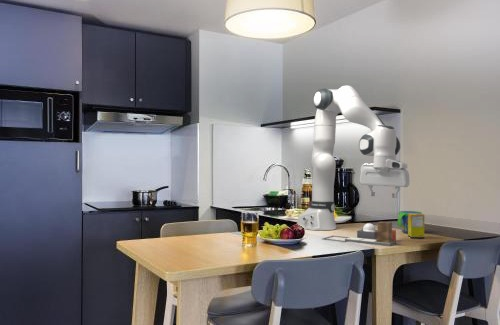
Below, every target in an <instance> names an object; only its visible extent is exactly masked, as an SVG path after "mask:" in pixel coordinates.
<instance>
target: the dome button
mask: <svg viewBox="0 0 500 325" xmlns="http://www.w3.org/2000/svg"><path fill="white" fill-rule="evenodd" d="M362 229H363V231H368V232H375V230H376V228H375V225H374V224H372V223H371V222H369V223H366V224H364V225H363V228H362Z"/></svg>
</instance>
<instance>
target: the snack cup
mask: <svg viewBox="0 0 500 325" xmlns="http://www.w3.org/2000/svg"><path fill="white" fill-rule="evenodd" d="M408 213H421V214H423V213H422V212H421V211H417V210H416V211H415V210H401V211H398V218H397V226H398V227H399V228H401V231H402V233H405V234H408Z"/></svg>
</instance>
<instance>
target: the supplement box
mask: <svg viewBox="0 0 500 325" xmlns="http://www.w3.org/2000/svg"><path fill="white" fill-rule="evenodd" d="M421 213H422V212H421ZM421 213H408V233H407V237H408V238H409V237H410V238H409V239H420V240H421V239H423V240H424V239H425V214H424V213H422V214H421Z"/></svg>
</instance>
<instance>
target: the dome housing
mask: <svg viewBox="0 0 500 325" xmlns="http://www.w3.org/2000/svg"><path fill="white" fill-rule="evenodd" d="M377 233H378V229H375V232H368V231H363V228H362V229H359V230H357V231H356V238H366V239H375V240H376V239H377Z"/></svg>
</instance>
